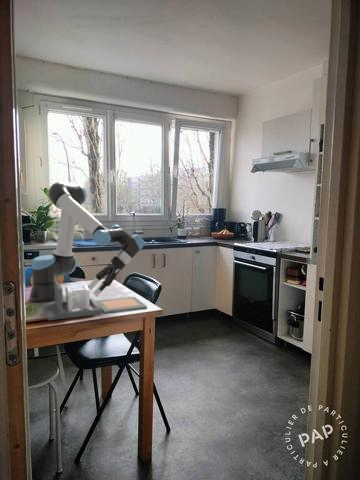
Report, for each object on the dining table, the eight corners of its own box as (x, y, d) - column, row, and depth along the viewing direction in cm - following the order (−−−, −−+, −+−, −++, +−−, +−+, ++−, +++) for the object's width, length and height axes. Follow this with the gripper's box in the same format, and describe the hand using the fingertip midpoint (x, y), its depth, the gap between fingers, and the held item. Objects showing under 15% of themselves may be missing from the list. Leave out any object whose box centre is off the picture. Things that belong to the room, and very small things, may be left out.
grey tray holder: (43, 307, 173) (43, 280, 172) (92, 302, 184) (92, 277, 183) (47, 320, 155) (47, 290, 154) (101, 313, 166) (101, 285, 164)
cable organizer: (90, 314, 166) (90, 290, 165) (67, 316, 162) (66, 292, 161) (86, 305, 180) (86, 283, 178) (65, 307, 176) (65, 284, 175)
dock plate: (95, 302, 184) (95, 300, 184) (134, 298, 194) (134, 296, 194) (104, 313, 167) (104, 311, 167) (146, 308, 176) (146, 306, 176)
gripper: (133, 269, 167) (103, 302, 162) (118, 261, 190) (91, 290, 185) (123, 259, 165) (91, 292, 159) (109, 252, 187) (81, 281, 182)
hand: (91, 291), depth 172 cm, fingers open, 13 cm apart
